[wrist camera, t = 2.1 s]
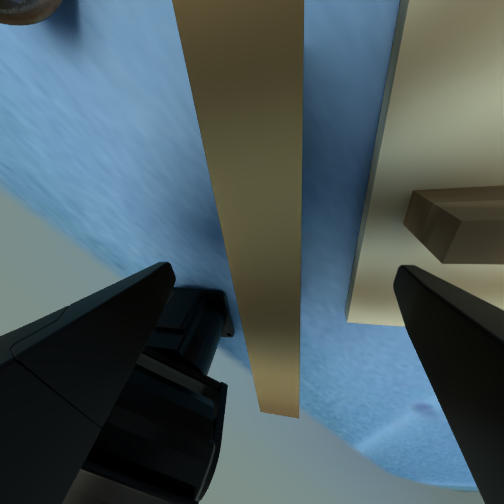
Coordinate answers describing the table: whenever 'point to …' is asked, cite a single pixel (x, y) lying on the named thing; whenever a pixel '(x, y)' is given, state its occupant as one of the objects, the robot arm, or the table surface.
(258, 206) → the oak plate
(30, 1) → the tin
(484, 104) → the wooden base with bar
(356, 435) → the table surface
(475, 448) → the robot arm
